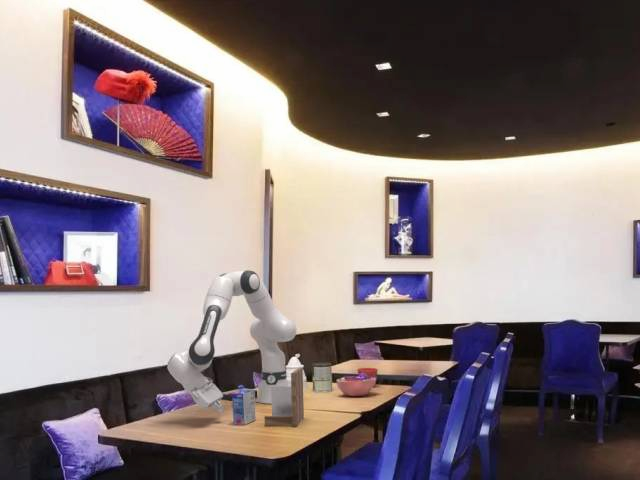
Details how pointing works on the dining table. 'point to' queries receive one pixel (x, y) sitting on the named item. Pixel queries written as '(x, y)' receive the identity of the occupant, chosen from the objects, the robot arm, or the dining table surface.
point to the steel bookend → (281, 401)
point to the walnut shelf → (296, 403)
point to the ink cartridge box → (243, 406)
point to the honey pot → (293, 366)
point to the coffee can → (322, 377)
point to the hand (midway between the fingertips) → (222, 411)
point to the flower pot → (369, 372)
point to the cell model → (356, 384)
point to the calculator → (229, 394)
